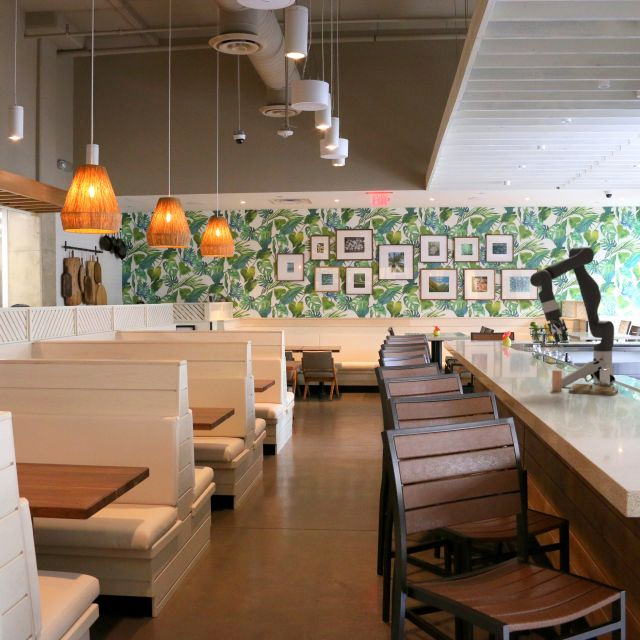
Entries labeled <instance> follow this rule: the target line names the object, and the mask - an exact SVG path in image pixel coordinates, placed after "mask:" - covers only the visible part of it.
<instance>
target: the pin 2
mask: <svg viewBox="0 0 640 640" xmlns="http://www.w3.org/2000/svg"><path fill="white" fill-rule="evenodd" d="M599 385H600V387H610V385H611V384H610V369H600V384H599Z"/></svg>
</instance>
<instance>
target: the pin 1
mask: <svg viewBox="0 0 640 640" xmlns="http://www.w3.org/2000/svg"><path fill="white" fill-rule="evenodd" d="M551 371H552V372H551V377H552V378H551V380H552V381H551V384H552V387H551V389H552V390H551V391H552V392H562V390H563V389H562V388H563V387H562V378H563V375H562V374H563V373H562V372H563V370H560V369H552V370H551Z"/></svg>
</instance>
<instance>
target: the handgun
mask: <svg viewBox="0 0 640 640" xmlns="http://www.w3.org/2000/svg"><path fill="white" fill-rule="evenodd" d="M602 359H603V358H601V359H599V360H597V359H596V358H594V357H593V359H592V361H588V362H587V363H585V364H583V365H582V366H581V367H579V368H577V369H576V370H574V371H572V372H570V373H569V374H567V375H565V376H562V388H566V387H567V386H569V385H571V384H572V383H575V382H576V381H579V380H580V379H584V381H585V382H586V383H589V382H591V381H593V379H594V378H596V379H597V381H598V382H599V383H600V369H604V367H605V366H606V365H607V364H609V363H610V362H605V363H604V362H603V361H602ZM589 375H590V378H589V379H587V377H588V376H589ZM615 382H616V378H615V376H612V375H611V374H610V385H612V384H615Z"/></svg>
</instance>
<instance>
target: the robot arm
mask: <svg viewBox="0 0 640 640" xmlns="http://www.w3.org/2000/svg"><path fill="white" fill-rule="evenodd" d="M594 258H595V252H594V250H593V249H592V248H591V247H588V246H576V247H575V246H574V247H572V248H570V249H569V252H568V258H565V259H561V260H558V261H556V262H553V263H552V264H550V265H548V266H546V267H545V268H543V269H540V270H539V271H537V272H534V273H533V274H532V275H531V276H530V278H529V282H530V285H531V286H533V287H536V288H537V287H538V288H539V287H541V290H540V291H539V292H538V297H539V301H540V304H541V308H542V311H543V314H544V317H545V320H546V322H548V323H547V328H548V331H549V334H550V335H552V336H553V338H554V341H555V343H560V342H561V339H560V336H559V333H560V334H561V338H562V341H563V342H566V341H568V339H569V338H568V335H567V331H568V327H567V325H566V322H565V319H563V318H562V316H563V315H562V314H561V313H562V312H561V309H560V308H559V304H558V302H557V300H556V297H555V294H554V291H553V280H554V279H557V278H559V277H560V276H562V275H565V274H566V273H568V272H570V271H572V270H573V273H574V275H575V277H576V278H575V279H576V280H577V284H578V288H579V291H580V295H581V299H582V301H583V303H584V308H585V312H586V316H587V322H588V327H589V331H590V335H591V336H592V337H593V338H596V339H601V341H600V342H599V343H597V344H594V346H593V359H594V358H596V359H597V360H599V359H601V358H603V359H602V361H603V362H604V363H605V362H610V363H609V364H607V365H606V366H605V367H604V369H610V374H611V375H612V376H614V365H613V347H614V342H615V341H614V338H615V326H614V323H613V322H612V321H611V320H600V318H599V313H598V310H599V307H600V303H601V300H602V294H601V290H600V287H599V285H598V283H597V281H596V280H595V279H594V278H593V277H592V276H591V275H590V273H589V272H588V271H587V269H586V265H590V263H592V262H593V261H594ZM561 318H562V319H561ZM614 377H615V376H614ZM592 382H593V384H596V385H600V383H599V382H598V381H597V379H596V378H594V379H593V380H592Z"/></svg>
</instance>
